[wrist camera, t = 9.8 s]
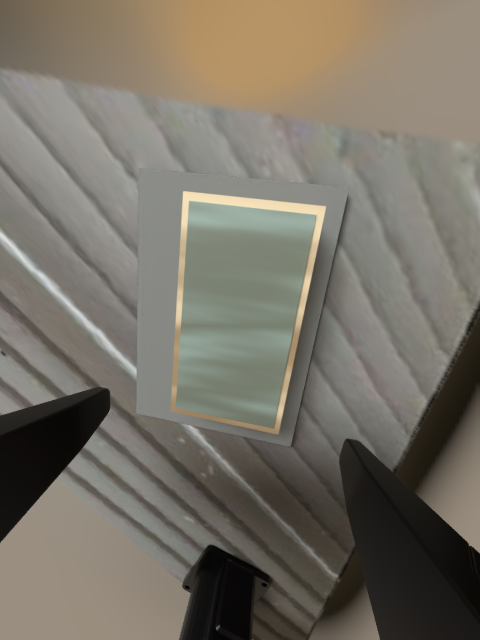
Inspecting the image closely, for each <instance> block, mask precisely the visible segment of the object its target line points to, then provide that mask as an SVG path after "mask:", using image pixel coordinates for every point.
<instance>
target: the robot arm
mask: <svg viewBox="0 0 480 640" xmlns="http://www.w3.org/2000/svg"><path fill="white" fill-rule="evenodd" d="M109 410H110V391H109V389H107V388H102V387H96V388H93V389H89V390H86V391H83V392H79V393H76V394H72V395H69V396H66V397H62V398H59V399H55V400H52V401H49V402H45V403H42V404H39V405H35V406H32V407H28V408H25V409H22V410H18V411H15V412H12V413H8V414H5V415H1V416H0V542H1V541H2V540H3V539H4V538H5V537H6V536H7V534H8V533H9V532H10V531H11V530H12V529H13V528H14V526H15V525H16V524H17V523H18V522H19V521H20V520H21V518H22V517H23V516H24V515H25V514H26V513H27V511H28V510H29V509H30V508H31V507H32V506H33V505H34V503H35V502H36V501H37V500H38V499H39V498H40V496H41V495H42V494H43V493H44V492H45V491H46V490H47V489H48V487H49V486H50V485H51V484H52V483H53V482H54V481H55V479H56V478H57V477H58V476H59V475H60V474H61V472H62V471H63V470H64V469H65V468H66V467H67V466H68V464H69V463H70V462H71V461H72V460H73V459H74V458H75V456H76V455H77V454H78V453H79V452H80V450H81V449H82V448H83V447H84V445H85V444H86V443H87V441H88V440H89V439H90V437H91V436H92V435H93V433H94V432H95V430H96V429H97V428H98V426H99V425H100V424H101V422H102V421H103V420H104V418H105V417H106V415H107V414H108V412H109ZM339 463H340V470H341V476H342V483H343V489H344V495H345V501H346V507H347V513H348V517H349V521H350V525H351V529H352V533H353V537H354V541H355V544H356V548H357V552H358V556H359V560H360V564H361V567H362V571H363V575H364V579H365V582H366V587H367V590H368V594H369V598H370V602H371V606H372V610H373V613H374V617H375V621H376V625H377V629H378V632H379V636H380V640H480V553H479V552H477V551H476V550H475V549H474V548H473V547H472V546H469V544H468V543H467V541H465V539H463V538H462V537H461V536H460V535H459V534H458V533H457V532H456V531H455V530H454V529H453V528H452V527H451V526H450V525H448V524H447V523H446V522H445V521H444V520H443V519H442V518H441V517H440V516H439V515H438V514H437V513H436V512H435V511H433V510H432V509H431V508H430V507H429V506H428V505H427V504H426V503H425V502H424V501H423V500H422V499H421V498H419V497H418V496H417V495H416V494H415V493H414V492H413V491H412V490H411V489H410V488H409V487H408V486H407V485H406V484H405V483H403V482H402V481H401V480H400V479H399V478H398V477H397V476H396V475H395V474H394V473H393V472H392V471H391V470H390V469H388V468H387V467H386V466H385V465H384V464H383V463H382V462H381V461H380V460H379V459H378V458H377V457H376V456H375V455H373V454H372V453H371V452H370V451H369V450H368V449H367V448H366V447H365V446H364V445H363V444H362V443H361V442H359V441H358V440H353V439H346V440H345V441H344V444H343V448H342V451H341V455H340V459H339ZM182 587H183V589H185V590H186V591H188V592H190V593H191V594H190V598H189V602H188V606H187V610H186V614H185V618H184V622H183V626H182V630H181V634H180V638H179V640H252V626H253V610H254V604H255V603H256V602H257V600H258V599H259V598H260V597H261V596H262V595H263V594H264V593H265V592H266V591H267V589H268V588H269V587H270V579H269V577H268V576H266V575H264V574H262V573H260V572H259V571H257V570H255V569H253V568H251V567H249V566H248V565H246V564H244V563H242V562H240V561H238V560H236V559H235V558H233V557H231V556H229V555H227V554H225V553H224V552H222V551H220V550H218V549H216V548H214V547H212V546H208V547H206V549H205V550H204V552H203V553H202V554H201V556H200V557H199V559H198V560H197V562H196V563H195V565H194V566H193V567H192V569H191V570H190V572H189V573H188V575H187V576H186V577H185V579H184V582H183V585H182Z"/></svg>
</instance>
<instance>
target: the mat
mask: <svg viewBox="0 0 480 640" xmlns="http://www.w3.org/2000/svg"><path fill="white" fill-rule="evenodd" d="M183 191H187V192H197V193H206V194H215V195H225V196H234V197H244V198H253V199H262V200H272V201H281V202H290V203H300V204H309V205H319V206H326V210H325V215H324V220H323V224H322V229H321V234H320V239H319V244H318V248H317V253H316V258H315V263H314V267H313V272H312V277H311V282H310V286H309V291H308V296H307V301H306V306H305V310H304V315H303V320H302V325H301V329H300V334H299V339H298V344H297V348H296V353H295V358H294V363H293V367H292V372H291V377H290V382H289V387H288V391H287V396H286V401H285V406H284V410H283V415H282V420H281V425H280V429H279V434H278V435H277V434H273V433H268V432H263V431H259V430H254V429H250V428H245V427H240V426H236V425H231V424H226V423H222V422H217V421H213V420H208V419H203V418H199V417H194V416H190V415H185V414H180V413H176V412H171V411H170V409H171V392H172V375H173V358H174V340H175V323H176V306H177V289H178V271H179V254H180V237H181V220H182V202H183ZM348 191H349V187H338V186H327V185H316V184H306V183H295V182H284V181H273V180H263V179H252V178H241V177H231V176H220V175H209V174H198V173H188V172H177V171H166V170H155V169H145V168H139V189H138V301H137V414H142V415H146V416H151V417H155V418H160V419H165V420H169V421H174V422H178V423H183V424H187V425H192V426H197V427H201V428H206V429H210V430H215V431H219V432H224V433H229V434H233V435H238V436H242V437H247V438H252V439H256V440H261V441H265V442H270V443H274V444H279V445H284V446H288V447H291V443H292V439H293V434H294V430H295V425H296V421H297V417H298V412H299V408H300V403H301V399H302V394H303V390H304V386H305V381H306V377H307V372H308V368H309V364H310V359H311V355H312V350H313V346H314V341H315V337H316V333H317V328H318V324H319V319H320V315H321V311H322V306H323V302H324V297H325V293H326V288H327V284H328V280H329V275H330V271H331V266H332V262H333V257H334V253H335V249H336V244H337V240H338V235H339V231H340V227H341V222H342V218H343V213H344V209H345V204H346V200H347V196H348Z"/></svg>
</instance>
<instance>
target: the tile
mask: <svg viewBox="0 0 480 640" xmlns="http://www.w3.org/2000/svg"><path fill="white" fill-rule="evenodd" d="M325 210H326V206H319V205H309V204H300V203H290V202H281V201H272V200H262V199H253V198H244V197H234V196H225V195H215V194H206V193H197V192H187V191H183V202H182V220H181V237H180V254H179V271H178V289H177V306H176V323H175V340H174V358H173V375H172V392H171V409H170V411H171V412H176V413H180V414H185V415H190V416H194V417H199V418H203V419H208V420H213V421H217V422H222V423H226V424H231V425H236V426H240V427H245V428H250V429H254V430H259V431H263V432H268V433H273V434H277V435H278V434H279V429H280V425H281V420H282V415H283V410H284V406H285V401H286V396H287V391H288V387H289V382H290V377H291V372H292V367H293V363H294V358H295V353H296V348H297V344H298V339H299V334H300V329H301V325H302V320H303V315H304V310H305V306H306V301H307V296H308V291H309V286H310V282H311V277H312V272H313V267H314V263H315V258H316V253H317V248H318V244H319V239H320V234H321V229H322V224H323V220H324V215H325Z"/></svg>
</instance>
